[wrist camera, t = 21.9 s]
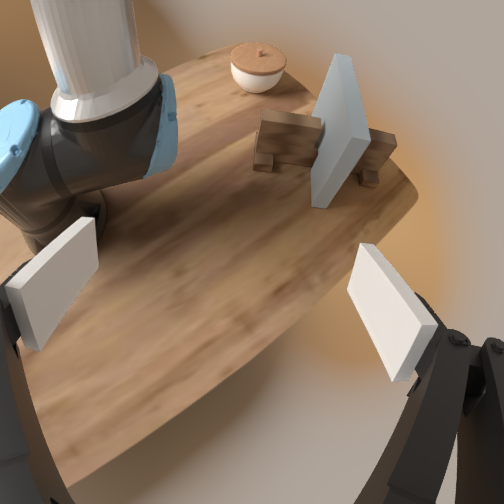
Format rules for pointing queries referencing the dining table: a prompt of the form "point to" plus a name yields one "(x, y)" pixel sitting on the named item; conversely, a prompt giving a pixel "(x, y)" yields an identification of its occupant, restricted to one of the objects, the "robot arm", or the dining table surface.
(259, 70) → the lidded jar
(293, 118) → the walnut board
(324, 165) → the slotted plate
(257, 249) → the dining table surface
